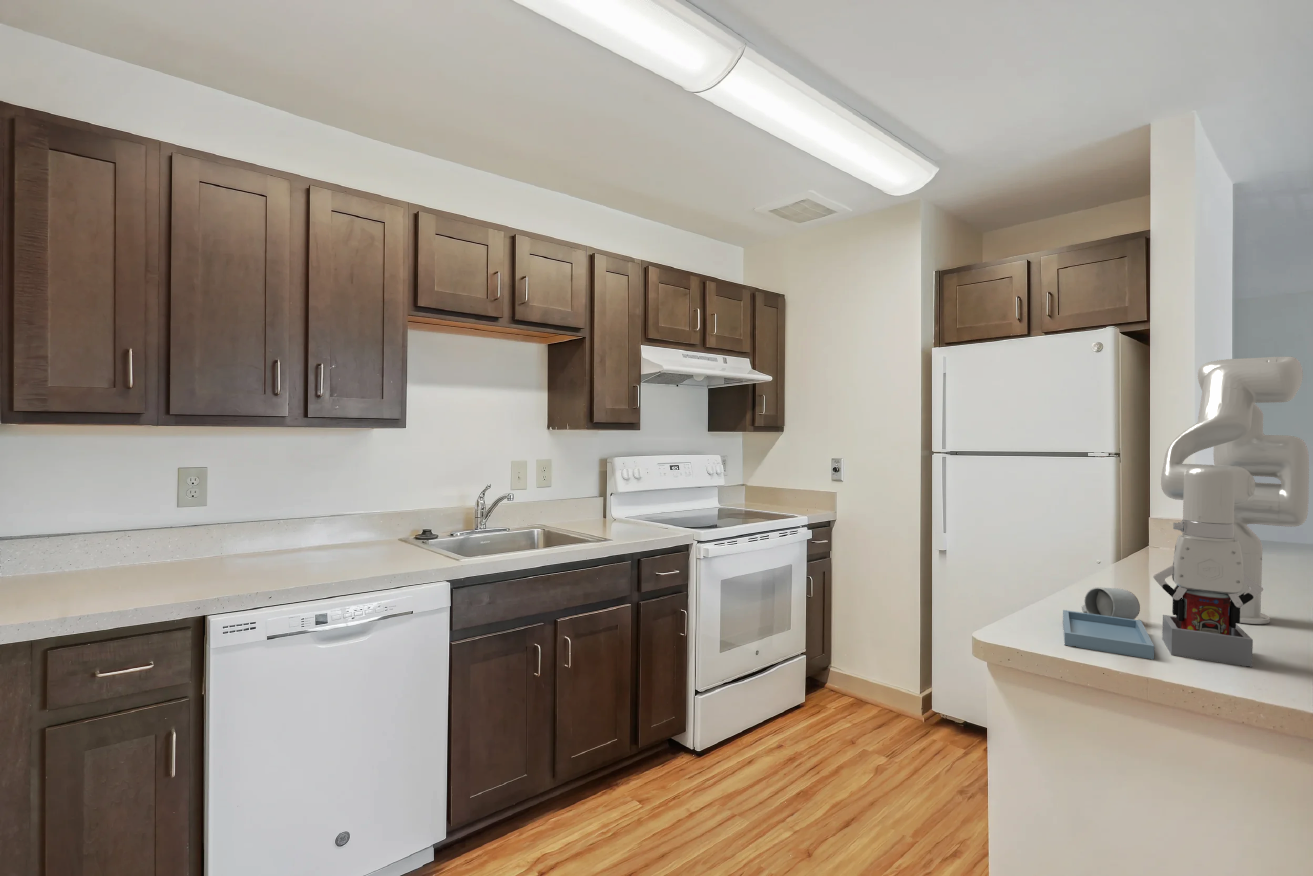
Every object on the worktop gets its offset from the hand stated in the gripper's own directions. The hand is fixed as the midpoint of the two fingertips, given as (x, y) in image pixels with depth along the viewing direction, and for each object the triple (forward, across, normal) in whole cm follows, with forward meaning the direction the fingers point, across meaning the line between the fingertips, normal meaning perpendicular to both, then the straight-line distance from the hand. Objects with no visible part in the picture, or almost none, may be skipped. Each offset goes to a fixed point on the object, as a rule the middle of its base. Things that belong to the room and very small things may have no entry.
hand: (1205, 622), depth 125 cm
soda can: (+6, 0, 0) cm, 6 cm away
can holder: (+6, 0, 0) cm, 6 cm away
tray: (+6, -16, -1) cm, 17 cm away
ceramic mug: (+6, -15, +17) cm, 23 cm away
